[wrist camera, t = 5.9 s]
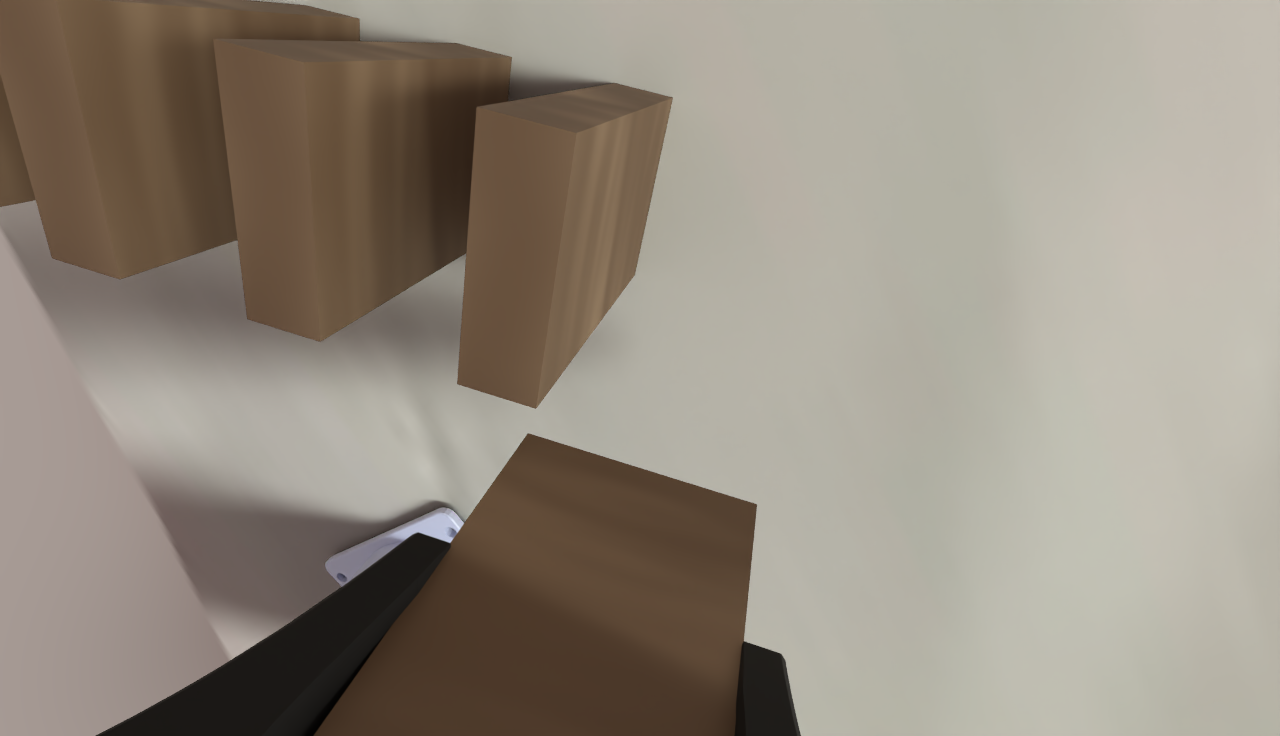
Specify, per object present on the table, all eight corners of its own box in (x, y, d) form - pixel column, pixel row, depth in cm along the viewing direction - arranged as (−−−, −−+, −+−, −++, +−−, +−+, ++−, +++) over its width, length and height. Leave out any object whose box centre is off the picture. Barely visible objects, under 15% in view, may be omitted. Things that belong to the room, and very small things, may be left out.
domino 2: (511, 57, 17) (303, 62, 10) (495, 235, 19) (320, 341, 12) (456, 43, 17) (213, 38, 10) (447, 221, 19) (246, 318, 12)
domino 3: (673, 97, 16) (576, 133, 9) (634, 274, 19) (536, 408, 12) (614, 83, 16) (476, 106, 9) (584, 260, 19) (457, 384, 12)
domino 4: (735, 558, 13) (665, 1103, 6) (520, 489, 14) (242, 926, 7) (756, 504, 13) (702, 1057, 6) (528, 433, 13) (223, 862, 6)
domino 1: (359, 18, 17) (54, -4, 10) (362, 197, 19) (119, 279, 12) (306, 5, 17) (-28, -25, 10) (316, 184, 20) (51, 258, 13)
